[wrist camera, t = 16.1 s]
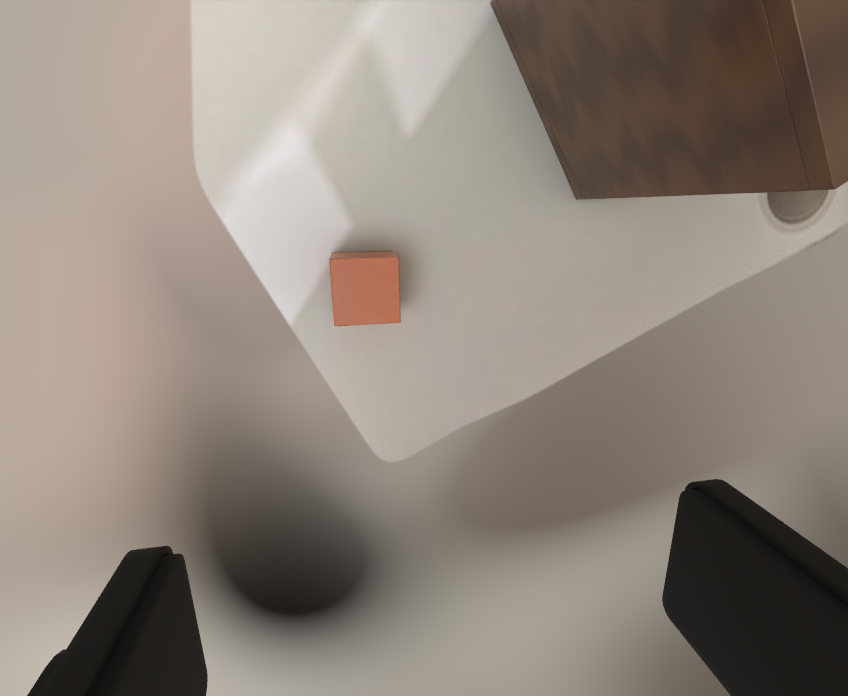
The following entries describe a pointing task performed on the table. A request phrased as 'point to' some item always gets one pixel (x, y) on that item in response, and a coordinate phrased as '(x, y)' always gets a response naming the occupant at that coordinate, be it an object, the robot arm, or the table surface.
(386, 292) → the block
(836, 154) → the cupboard
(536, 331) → the table surface
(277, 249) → the table surface
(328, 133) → the table surface
